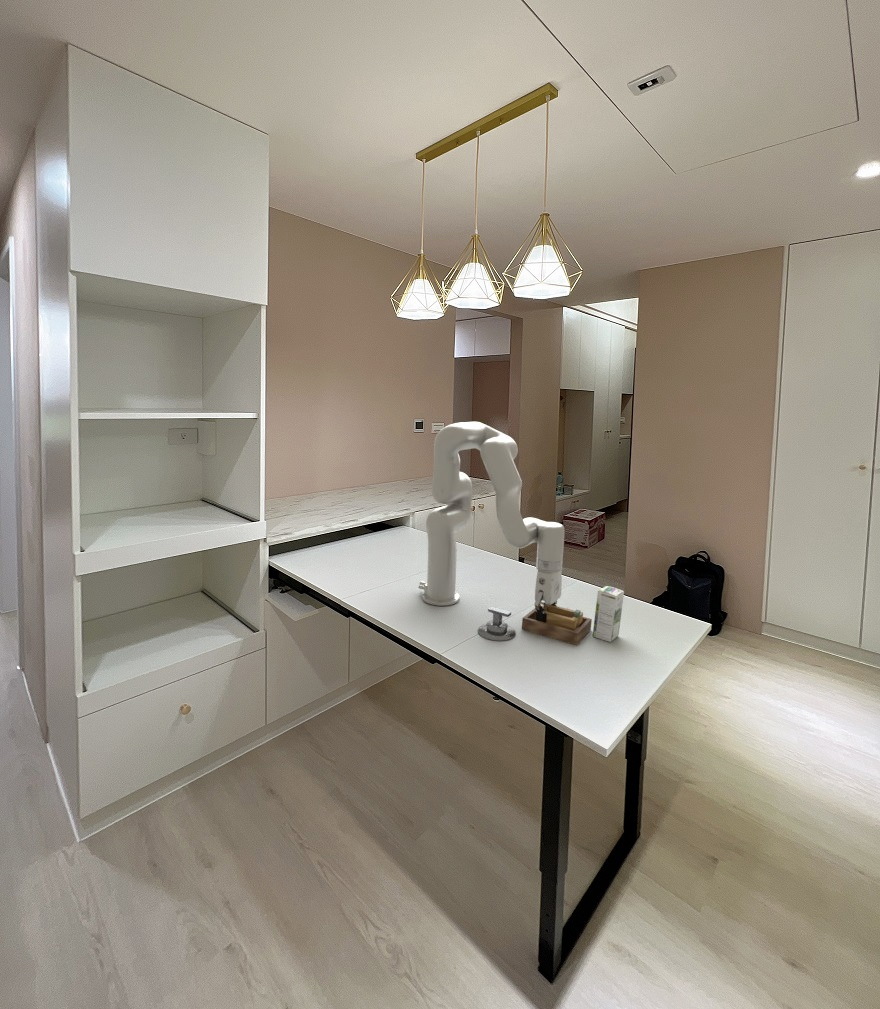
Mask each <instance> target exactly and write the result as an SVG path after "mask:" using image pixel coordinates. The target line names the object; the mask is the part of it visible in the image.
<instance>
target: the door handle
mask: <svg viewBox="0 0 880 1009" xmlns="http://www.w3.org/2000/svg"><path fill="white" fill-rule="evenodd" d="M487 612H488V613H492V620H489V621H487V622H486V623H484V624H482V625H480V626H479V627H478V628H477V633H478V635H479V636H480V637H482V638H484V639H485V640H489V641H493V642H506V641H510V640H513V639H514V638H515V637H516V634H517V633H516V629H515V628H514V627H512V626H510V625H508V623H507V622H506V621H503V617H505V618H506V617H507V618H509V617H511V615H512V612H511V611H507V610H504V609H500V608H497V607H493V606H491V607H488V608H487Z"/></svg>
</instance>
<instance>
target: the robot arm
mask: <svg viewBox="0 0 880 1009" xmlns="http://www.w3.org/2000/svg"><path fill="white" fill-rule="evenodd" d="M471 449H472V450H473V449H477V451H479V453H480V458H481V460H482V462H483V464H484V466H485V470H486V473H487V474H488V477H489V480H490V482H491V484H492V486H493V489H494V492H495V508H496V512H495V513H496V517H497V521H498V523H499V526H500V527H499V528H501V532H502V534H503V536H504V538H505V540H506V541H507V543H508V544H509V545H510V546H511V547H513V548H515V549H523V548H526V547H528V546H529V545H531V544H533V543H534V544H535V543H537V549H536V565H535V568H536V570H537V571H536V572H537V574H536V579H535V587H534V588H535V589H534V608H535V609H536V620H537V621H541V622H544V623H546V618H547V613H546V608H547V604H548V605H553V606H558V605H557V604H558V600H559V599H560V598H561V596H562V584H563V582H562V581H563V579H562V578H563V576H562V574H563V573H562V572H563V559H564V546H565V527H564V525H563V524H561V523H559V522H555V521H545V520H541V519H539V518H536V517H525V518H523V517H522V514H521V511H520V506H519V497H520V493H521V490H522V487H523V482H522V481H523V480H522V479H521V476H520V474H519V471H518V469H517V466H516V464H515V462H514V460H515V459H516V458H517V455H518V451H519V450H518V449H519V448H518V445H517V443H516V441H515V440H514V439H513V438H512V437H511V436H509V435H508V434H505V433H503V432H501V431H499V430H497V429H495V428H493V427H491V426H489V425H487V424H484V423H482V422H480V421H465V422H462V421H461V422H455V423H452V424H448V425H447V426H444V427H443V428H441V429H440V430H439V431H438V433H437V434H436V436H435V438H434V442H433V466H432V467H433V468H432V483H431V484H432V485H431V495H432V498H433V499H434V501H435V502H436V503H437V504H439V505H440V504H442V505H443V506H441V507H437V508H435V509H433V510H432V511H431V512H430V513H429V514H428V515H427V517H426V520H425V528H426V537H427V574H426V576H427V577H426V578H427V580H426V581H424V580H421V581H419V583H418V584H419V585H418V586H417V587H418V589H420V590H423V593H422V595H421V596H422V598H421V600H422V601H424V602H425V603H427V604H429V605H432V606H438V607H439V606H441V607H443V606H445V607H447V606H451V605H455V604H457V603H458V602H459V601H460V599H461V597H460V594H459V593H458V592H456V579H457V578H456V577H457V557H458V556H457V551H458V549H457V548H458V547H457V541H456V539H455V534H456V533H457V532H459V531H462V530H464V529H465V528H466V527H467V526H468V525H469V523H470V520H471V514H472V513H471V512H472V503H473V502H472V501H473V483H472V480H471V478H470V477H469V476H468V474H466V473H464V472H463V471H461V470H460V469H461V458H460V455H459V452H460V451H465V450H471ZM543 601H544V602H543ZM542 605H544V608H543V607H542Z"/></svg>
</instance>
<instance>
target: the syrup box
mask: <svg viewBox="0 0 880 1009" xmlns="http://www.w3.org/2000/svg"><path fill="white" fill-rule="evenodd" d="M624 595H625V591H624V590H622V589H619V588H616V587H613V586H608V585H605V586H603V587H602V588H601V589H599V590H597V595H596V597H597V598H596V604H595V612H594V621H593V628H592V629H593V630H592V637H593V638H596V639H599V640H603V641H606V642H608V643H612V642H613V641H614V640H615V639H617V638H618V637H619V634H620V626H621V620H622V618H621V617H622V611H623V604H624V597H625V596H624Z"/></svg>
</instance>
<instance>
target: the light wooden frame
mask: <svg viewBox="0 0 880 1009" xmlns="http://www.w3.org/2000/svg"><path fill="white" fill-rule="evenodd" d="M541 606H542V607H543V608H544V605H542V604H541ZM546 613H547V618H546V623H548V624H552V625H555V626H559V627H563V628H567V629H571V630H575V629H576V628H577V627H578V626H579V625H580V624H581V623H582V620H583V617H584V612H582V611H581V610H579V609H575V610H574V609H570V608H565V607H561V606H558V605H557V606H553V605H548V604H547V608H546ZM535 620H536V616H535Z"/></svg>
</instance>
